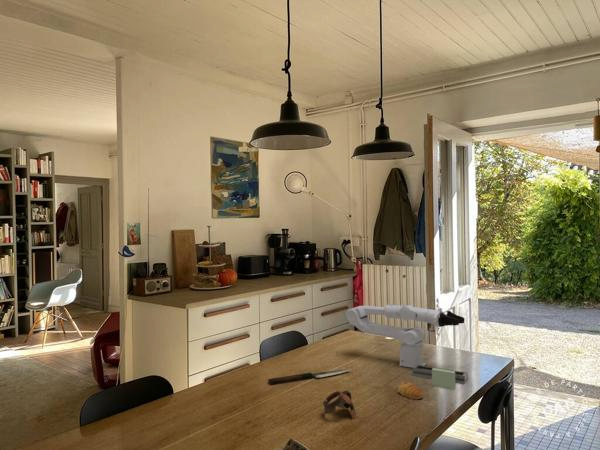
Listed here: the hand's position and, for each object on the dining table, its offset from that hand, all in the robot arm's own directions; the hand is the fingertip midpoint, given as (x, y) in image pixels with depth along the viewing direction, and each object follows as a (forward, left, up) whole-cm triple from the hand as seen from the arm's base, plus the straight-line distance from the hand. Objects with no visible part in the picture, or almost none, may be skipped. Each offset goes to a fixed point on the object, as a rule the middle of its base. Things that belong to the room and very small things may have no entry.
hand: (461, 321), depth 183 cm
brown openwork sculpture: (-25, -59, -21) cm, 67 cm away
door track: (-7, -8, -21) cm, 23 cm away
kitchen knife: (-50, -34, -22) cm, 64 cm away
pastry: (-11, -31, -22) cm, 40 cm away
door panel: (-3, -18, -21) cm, 28 cm away
